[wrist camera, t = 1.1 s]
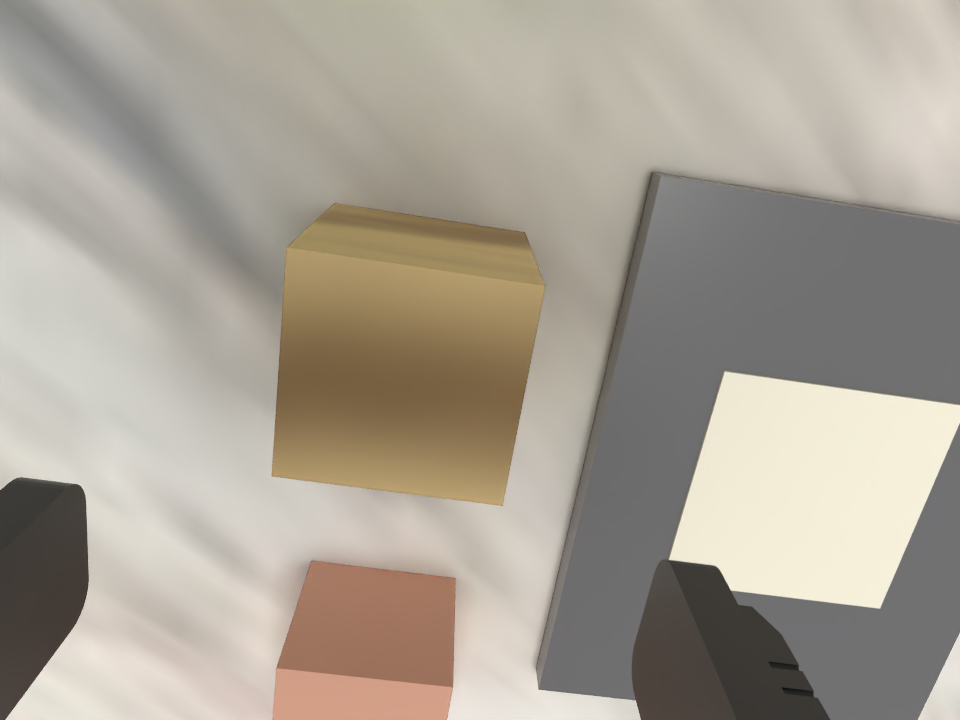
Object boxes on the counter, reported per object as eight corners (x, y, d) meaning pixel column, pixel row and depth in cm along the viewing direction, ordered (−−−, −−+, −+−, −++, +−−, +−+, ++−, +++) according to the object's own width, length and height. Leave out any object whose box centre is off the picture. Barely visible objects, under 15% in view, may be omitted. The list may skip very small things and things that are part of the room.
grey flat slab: (652, 171, 21) (662, 176, 20) (1113, 246, 22) (1145, 254, 20) (536, 668, 27) (538, 691, 26) (897, 708, 28) (913, 733, 27)
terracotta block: (311, 559, 25) (276, 668, 20) (455, 576, 25) (453, 687, 21) (301, 671, 27) (266, 795, 22) (436, 686, 27) (429, 811, 23)
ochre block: (335, 203, 21) (286, 247, 15) (524, 232, 21) (545, 286, 16) (319, 379, 23) (271, 476, 17) (493, 403, 23) (502, 505, 18)
